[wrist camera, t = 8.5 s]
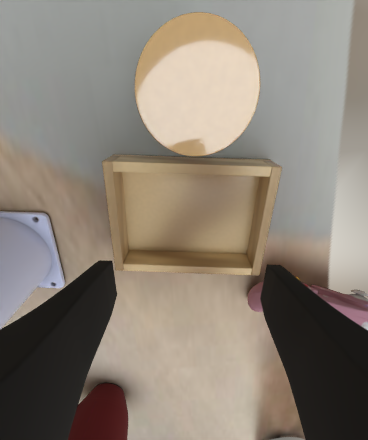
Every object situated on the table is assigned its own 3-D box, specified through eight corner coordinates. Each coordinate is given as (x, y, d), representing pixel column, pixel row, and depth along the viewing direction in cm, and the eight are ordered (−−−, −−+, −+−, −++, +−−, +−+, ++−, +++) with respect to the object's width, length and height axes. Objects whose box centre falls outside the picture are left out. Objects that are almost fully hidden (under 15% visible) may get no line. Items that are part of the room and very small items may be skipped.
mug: (57, 397, 32) (5, 510, 23) (63, 362, 29) (5, 478, 20) (131, 412, 33) (110, 524, 24) (145, 380, 30) (126, 497, 21)
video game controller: (338, 281, 24) (411, 306, 17) (328, 324, 24) (397, 366, 17) (251, 259, 23) (291, 275, 16) (240, 303, 23) (275, 338, 16)
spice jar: (158, 136, 17) (137, 154, 10) (157, 56, 15) (129, 9, 8) (225, 139, 17) (250, 158, 10) (233, 59, 15) (271, 13, 8)
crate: (123, 253, 21) (115, 270, 19) (113, 154, 18) (101, 161, 15) (251, 257, 21) (259, 275, 19) (270, 159, 18) (282, 166, 15)
